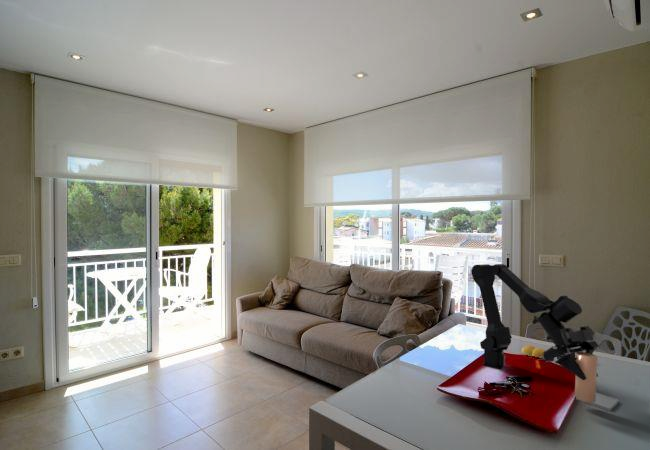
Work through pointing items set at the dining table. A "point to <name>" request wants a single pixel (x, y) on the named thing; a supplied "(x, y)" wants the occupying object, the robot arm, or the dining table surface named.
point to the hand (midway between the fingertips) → (590, 378)
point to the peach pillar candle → (586, 387)
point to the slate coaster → (603, 402)
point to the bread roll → (533, 351)
